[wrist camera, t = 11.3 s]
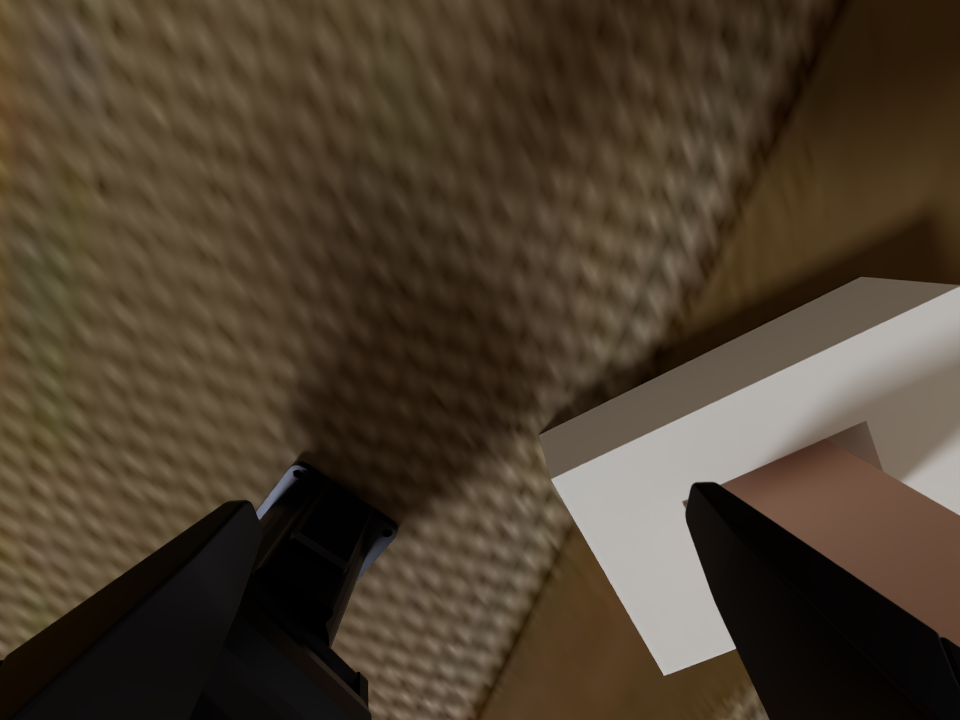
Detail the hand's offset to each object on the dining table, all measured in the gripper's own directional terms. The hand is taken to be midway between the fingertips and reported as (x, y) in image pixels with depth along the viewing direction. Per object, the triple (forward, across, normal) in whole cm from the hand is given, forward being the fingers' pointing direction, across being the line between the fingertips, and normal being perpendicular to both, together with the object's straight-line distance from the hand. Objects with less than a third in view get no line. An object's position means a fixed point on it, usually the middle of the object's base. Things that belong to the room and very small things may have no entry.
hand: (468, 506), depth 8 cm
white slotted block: (+10, -12, +8) cm, 18 cm away
